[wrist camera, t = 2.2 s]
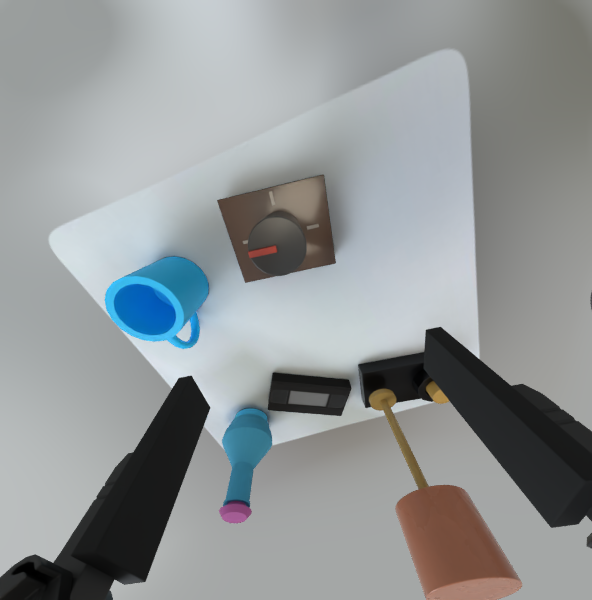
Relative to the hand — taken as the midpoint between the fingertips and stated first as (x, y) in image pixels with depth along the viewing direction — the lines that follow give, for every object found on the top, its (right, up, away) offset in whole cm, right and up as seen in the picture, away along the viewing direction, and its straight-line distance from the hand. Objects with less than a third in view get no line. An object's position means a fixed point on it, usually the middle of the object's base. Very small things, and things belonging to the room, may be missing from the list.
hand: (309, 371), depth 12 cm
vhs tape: (+2, -13, +29) cm, 32 cm away
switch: (+23, -11, +24) cm, 35 cm away
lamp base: (+19, -10, +28) cm, 35 cm away
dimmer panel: (-3, +13, +16) cm, 21 cm away
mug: (-17, +5, +20) cm, 26 cm away
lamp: (+14, -13, +24) cm, 31 cm away
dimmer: (-3, +12, +13) cm, 18 cm away
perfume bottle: (-10, -21, +32) cm, 39 cm away
